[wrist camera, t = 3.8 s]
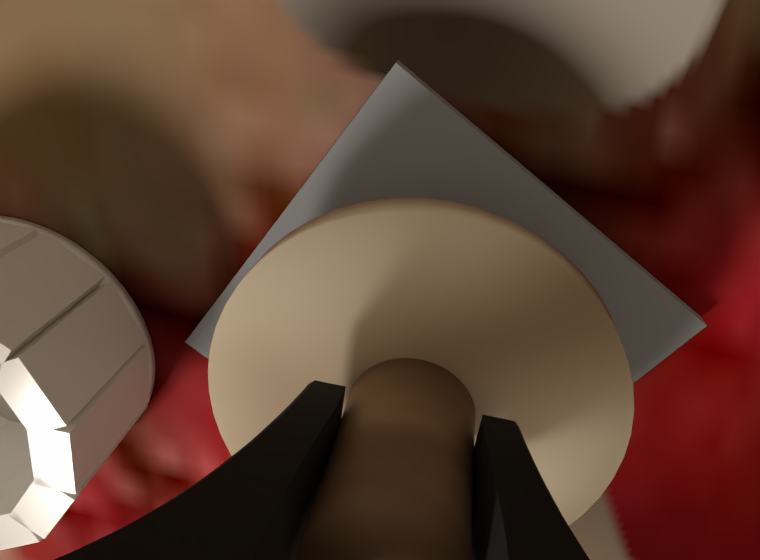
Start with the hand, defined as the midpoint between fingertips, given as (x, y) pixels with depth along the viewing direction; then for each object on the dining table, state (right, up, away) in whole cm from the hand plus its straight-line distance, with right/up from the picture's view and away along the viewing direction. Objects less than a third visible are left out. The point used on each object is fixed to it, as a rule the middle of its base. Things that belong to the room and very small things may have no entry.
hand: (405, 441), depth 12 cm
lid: (0, +1, +1) cm, 2 cm away
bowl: (-10, +1, +6) cm, 12 cm away
